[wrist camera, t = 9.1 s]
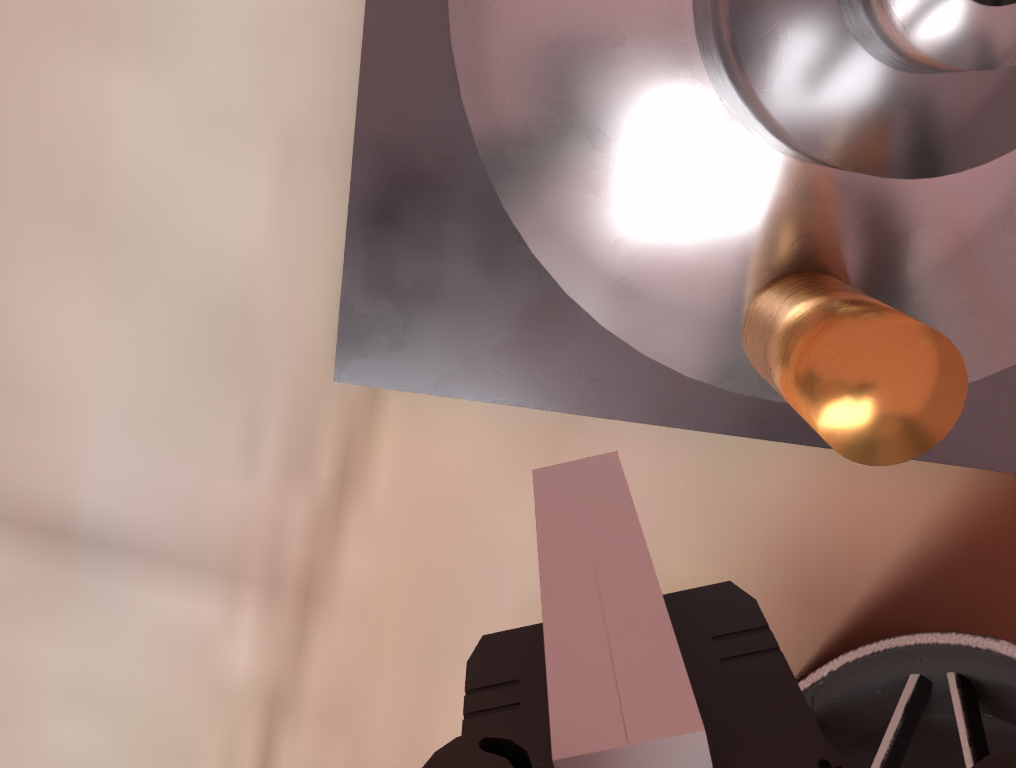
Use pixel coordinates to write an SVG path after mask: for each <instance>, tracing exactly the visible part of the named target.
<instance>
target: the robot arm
mask: <svg viewBox="0 0 1016 768" xmlns="http://www.w3.org/2000/svg"><path fill="white" fill-rule="evenodd" d="M532 471H533V486H534V500H535V515H536V530H537V544H538V559H539V573H540V588H541V602H542V617H543V623H539V624H535V625H530V626H525V627H520V628H516V629H511V630H506V631H501V632H497V633H492V634H487V635H483V636H482V638H481V639H480V641H479V643H478V644H477V646H476V648H475V649H474V651H473V653H472V654H471V656H470V658H469V660H468V661H467V666H466V680H465V694H466V696H464V708H463V715H464V720H463V722H462V736H459V737H456V738H455V739H453V740H452V741H451V742H449V743H448V744H446V745H445V746H443V747H442V748H440V749H439V750H437V751H436V752H435V753H434V754H433V755H432V756H431V758H430V759H429V760H428V761H427V763H426V764H425V765H424V766H423V767H422V768H857V767H856V766H854V765H852V764H851V763H849V762H848V761H847V760H846V759H845V757H844V756H843V755H841V754H840V753H838V752H836V751H835V750H834V749H833V748H832V747H831V745H830V744H829V742H828V741H827V739H826V738H825V736H824V735H823V733H822V731H821V729H820V727H819V725H818V723H817V721H816V719H815V717H814V715H813V713H812V711H811V709H810V707H809V705H808V703H807V701H806V699H805V697H804V695H803V693H802V691H801V689H800V687H799V685H798V683H797V681H796V679H795V677H794V675H793V673H792V671H791V669H790V667H789V665H788V663H787V661H786V659H785V657H784V655H783V653H782V652H781V651H780V648H779V645H778V643H777V641H776V639H775V637H774V635H773V633H772V631H771V630H770V629H769V625H768V623H767V621H766V619H765V617H764V615H763V613H762V611H761V609H760V607H759V605H758V603H757V601H756V599H754V598H753V597H752V596H750V595H749V594H747V593H746V592H745V591H743V590H742V589H741V588H739V587H738V586H736V585H735V584H734V583H732V582H731V581H726V582H722V583H717V584H712V585H707V586H703V587H698V588H693V589H688V590H684V591H679V592H674V593H669V594H665V595H662V592H661V589H660V586H659V583H658V579H657V576H656V573H655V570H654V567H653V564H652V560H651V557H650V554H649V551H648V548H647V545H646V541H645V538H644V535H643V532H642V529H641V525H640V522H639V519H638V516H637V513H636V510H635V506H634V503H633V500H632V497H631V494H630V491H629V487H628V484H627V481H626V478H625V475H624V472H623V468H622V465H621V462H620V459H619V456H618V452H617V451H615V452H610V453H606V454H602V455H597V456H593V457H588V458H584V459H579V460H575V461H571V462H566V463H562V464H557V465H553V466H548V467H544V468H540V469H535V470H532ZM971 768H1016V750H1012V751H1007V752H1003V753H998V754H994V755H989V756H986V757H985V758H983V759H982V760H981V761H979V762H978V763H976V764H975V765H974V766H972V767H971Z"/></svg>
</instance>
